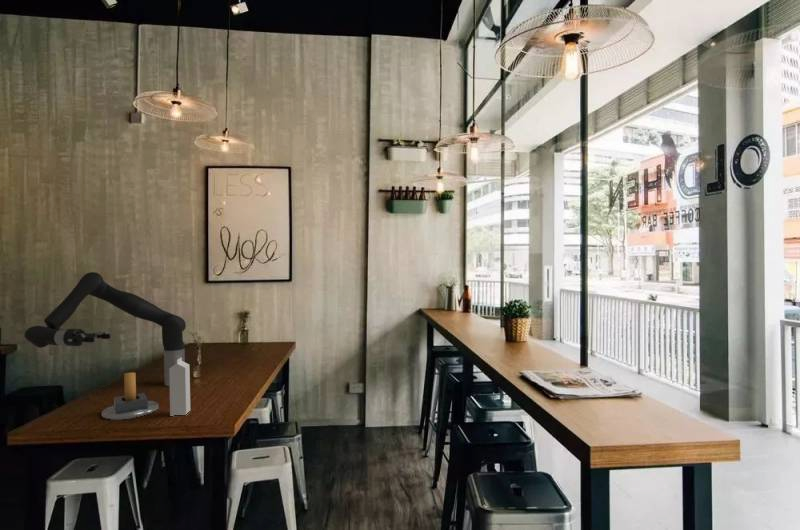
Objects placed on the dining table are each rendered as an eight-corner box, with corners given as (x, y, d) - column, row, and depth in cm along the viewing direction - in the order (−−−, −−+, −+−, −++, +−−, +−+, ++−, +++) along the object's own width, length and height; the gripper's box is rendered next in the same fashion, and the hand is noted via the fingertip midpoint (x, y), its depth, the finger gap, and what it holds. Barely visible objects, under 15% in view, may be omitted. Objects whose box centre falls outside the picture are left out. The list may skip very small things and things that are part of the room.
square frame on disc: (155, 401, 206) (154, 388, 206) (161, 413, 189) (161, 399, 189) (100, 410, 195) (100, 396, 195) (102, 423, 178) (102, 409, 178)
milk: (190, 411, 192) (189, 356, 192) (186, 415, 186) (185, 359, 186) (174, 412, 191) (173, 357, 191) (169, 416, 185) (169, 360, 185)
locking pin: (135, 405, 195) (135, 371, 195) (136, 408, 191) (136, 373, 191) (124, 407, 193) (123, 373, 192) (125, 410, 189) (124, 375, 189)
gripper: (55, 331, 201) (88, 331, 198) (83, 326, 215) (114, 326, 212) (55, 348, 201) (88, 349, 198) (83, 343, 215) (115, 343, 212)
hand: (101, 338), depth 205 cm, fingers open, 8 cm apart
